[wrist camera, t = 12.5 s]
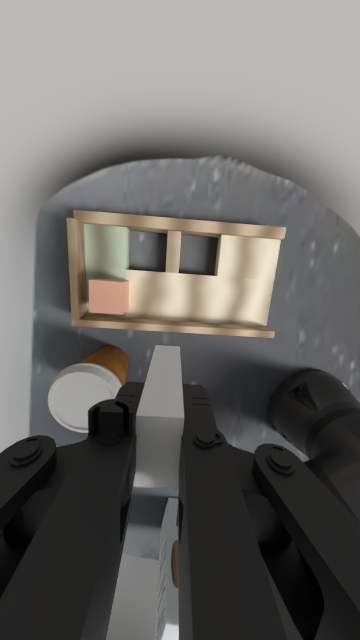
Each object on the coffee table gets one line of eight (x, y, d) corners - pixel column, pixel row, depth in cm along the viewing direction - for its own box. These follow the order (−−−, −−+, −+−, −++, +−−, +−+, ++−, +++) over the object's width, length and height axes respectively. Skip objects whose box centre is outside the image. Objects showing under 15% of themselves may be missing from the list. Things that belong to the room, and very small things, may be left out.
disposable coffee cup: (85, 334, 36) (43, 363, 24) (140, 340, 36) (124, 373, 25) (83, 383, 38) (43, 432, 26) (135, 388, 39) (118, 439, 27)
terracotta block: (129, 280, 32) (122, 282, 27) (128, 309, 33) (121, 314, 28) (100, 278, 31) (88, 279, 27) (100, 307, 32) (89, 312, 28)
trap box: (274, 232, 33) (294, 224, 28) (259, 328, 37) (273, 337, 31) (84, 216, 32) (65, 204, 26) (87, 317, 35) (71, 326, 30)
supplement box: (210, 501, 45) (230, 631, 29) (200, 532, 47) (215, 669, 31) (167, 496, 45) (164, 626, 28) (159, 527, 47) (152, 666, 30)
